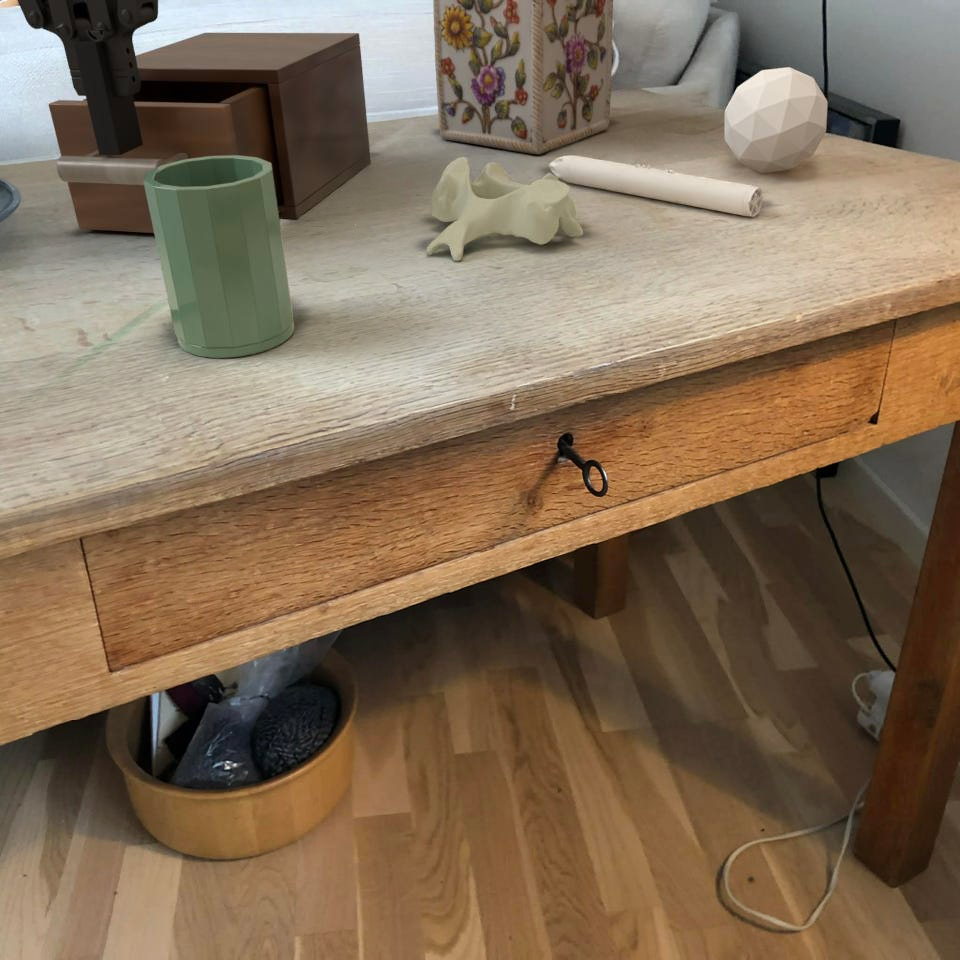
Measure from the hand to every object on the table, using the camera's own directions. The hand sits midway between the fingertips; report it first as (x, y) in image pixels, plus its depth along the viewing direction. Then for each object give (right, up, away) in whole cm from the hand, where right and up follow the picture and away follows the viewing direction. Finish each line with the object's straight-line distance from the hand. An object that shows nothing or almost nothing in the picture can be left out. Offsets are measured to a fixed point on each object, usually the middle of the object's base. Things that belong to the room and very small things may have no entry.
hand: (121, 149), depth 64 cm
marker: (+35, 0, +12) cm, 37 cm away
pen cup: (+9, -13, -8) cm, 17 cm away
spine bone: (+23, -5, +5) cm, 24 cm away
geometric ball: (+46, +4, +17) cm, 49 cm away
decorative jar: (+27, +11, +30) cm, 41 cm away
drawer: (+2, -1, +9) cm, 10 cm away
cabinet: (+5, +3, +18) cm, 19 cm away
